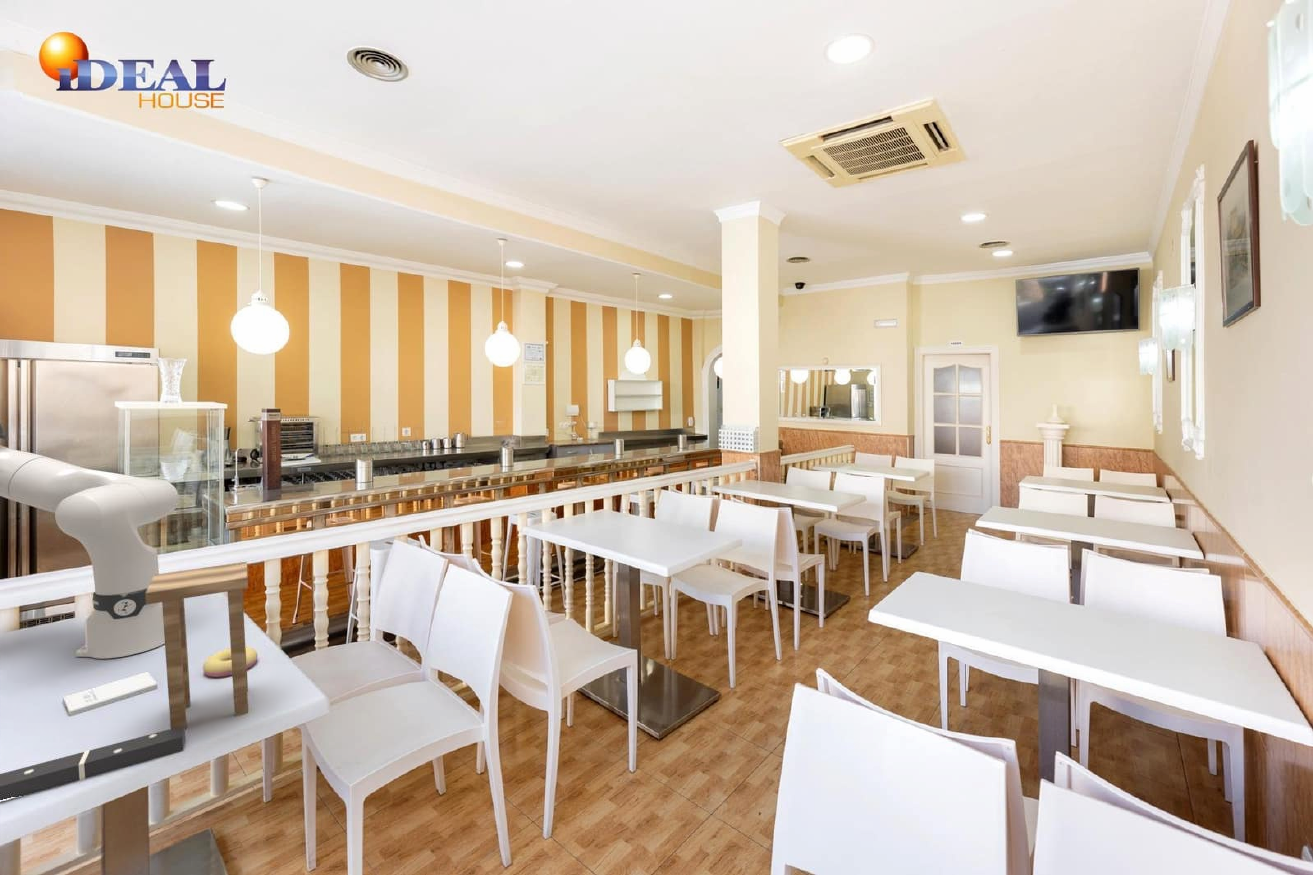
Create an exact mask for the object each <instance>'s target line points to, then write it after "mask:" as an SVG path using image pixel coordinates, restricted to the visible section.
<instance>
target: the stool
mask: <svg viewBox="0 0 1313 875" xmlns="http://www.w3.org/2000/svg"><path fill="white" fill-rule="evenodd" d="M248 572H249V571H248V562H247V561H241V562H237V563H236V562H234V563H229V564H228V563H227V564H220V565H214V566H205V567H200V568H199V567H198V568H193V569H186V570H185V569H183V570H178V571H171V572H163V573H159V574H156V575H154V577H153V579H152V581H151V583H150V585H149V587H148V589H147V591H146V593H145V596H146V605H148V604H154V603H160V602H162V608H163V623H164V637H165V644H164V650H165V664H166V666H165V667H166V678H167V679H166V680H167V694H168V707H169V708H168V710H169V721H170V724H169V725H170V729H173V728H176V727H180V726H184V725H185V730H186V729H187V726H188V725H187V708H189V707H191V688H190V687H191V686H190V674H189V670H190V669H189V657H188V656H189V655H188V642H187V640H188V638H187V627H186V625H187V624H186V613H185V612H186V611H185V599H190V598H195V597H196V598H197V597H201V596H207V595H214V594H219V593H225V592H227V606H228V607H227V608H228V623H229V624H228V625H229V640H230V648H231V660H232V675H231V676H232V692H233V693H232V695H233V709H234V712H233V713H234V717H237V716H241V715H245V714H248V713H249V703H248V702H249V701H248V692H249V688H248V687H249V686H248V683H249V682H248V669H247V664H246V647H247V646H246V634H245V633H246V632H245V630H246V628H245V613H244V598H243V597H244V595H243V594H244V592H243V590H244V589H248V588H249V584H248V581H249V580H248V577H249V576H248Z"/></svg>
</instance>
